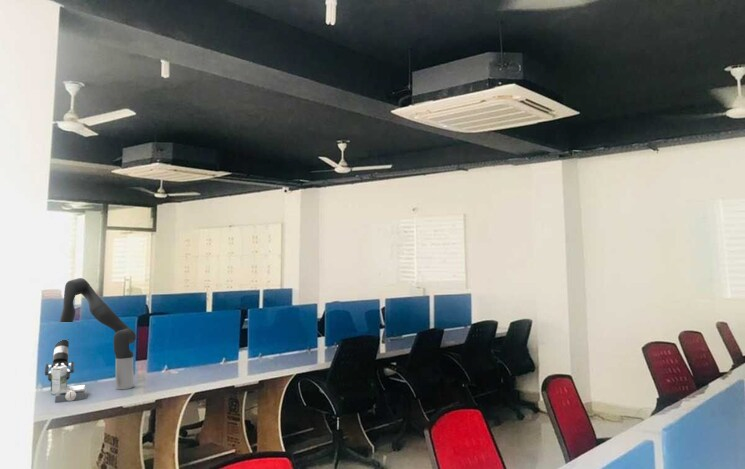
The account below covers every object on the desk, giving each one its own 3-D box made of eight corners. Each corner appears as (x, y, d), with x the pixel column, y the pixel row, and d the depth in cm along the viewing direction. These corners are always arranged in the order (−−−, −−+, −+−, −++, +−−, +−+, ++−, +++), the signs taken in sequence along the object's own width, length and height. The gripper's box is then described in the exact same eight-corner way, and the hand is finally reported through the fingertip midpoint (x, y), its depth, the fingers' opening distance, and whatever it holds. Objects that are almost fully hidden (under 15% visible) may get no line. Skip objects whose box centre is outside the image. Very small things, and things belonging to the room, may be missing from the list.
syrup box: (57, 391, 302) (57, 365, 303) (67, 391, 302) (67, 365, 303) (50, 394, 297) (50, 367, 298) (60, 394, 296) (60, 367, 297)
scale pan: (60, 388, 290) (60, 387, 290) (85, 386, 295) (85, 384, 295) (57, 393, 279) (57, 391, 279) (83, 390, 285) (83, 388, 285)
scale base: (58, 396, 290) (58, 387, 291) (87, 393, 296) (87, 384, 297) (55, 402, 277) (55, 393, 277) (85, 399, 283) (85, 389, 283)
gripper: (45, 352, 304) (43, 377, 293) (74, 350, 310) (73, 374, 299) (47, 360, 309) (44, 385, 298) (75, 358, 315) (73, 381, 304)
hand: (58, 379), depth 298 cm, fingers closed on syrup box, 8 cm apart
